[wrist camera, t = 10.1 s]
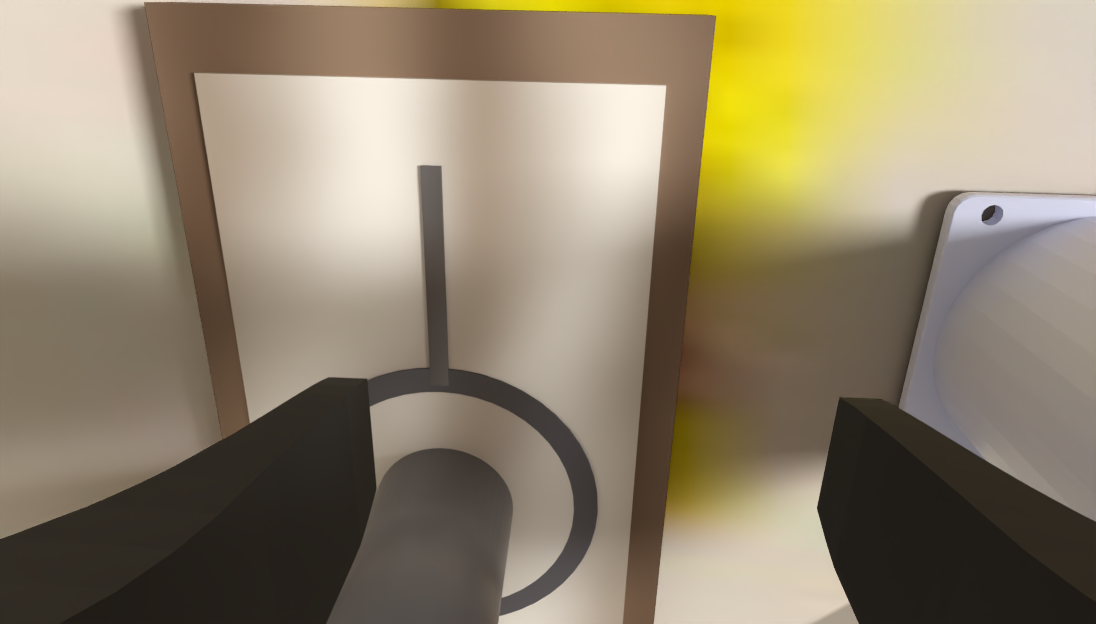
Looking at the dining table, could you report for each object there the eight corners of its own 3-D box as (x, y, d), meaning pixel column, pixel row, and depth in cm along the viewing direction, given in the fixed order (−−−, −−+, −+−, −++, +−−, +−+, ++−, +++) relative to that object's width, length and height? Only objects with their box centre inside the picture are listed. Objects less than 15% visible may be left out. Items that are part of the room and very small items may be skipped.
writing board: (707, 14, 18) (718, 16, 16) (646, 640, 25) (649, 678, 24) (170, 2, 18) (135, 2, 17) (274, 621, 26) (255, 657, 24)
